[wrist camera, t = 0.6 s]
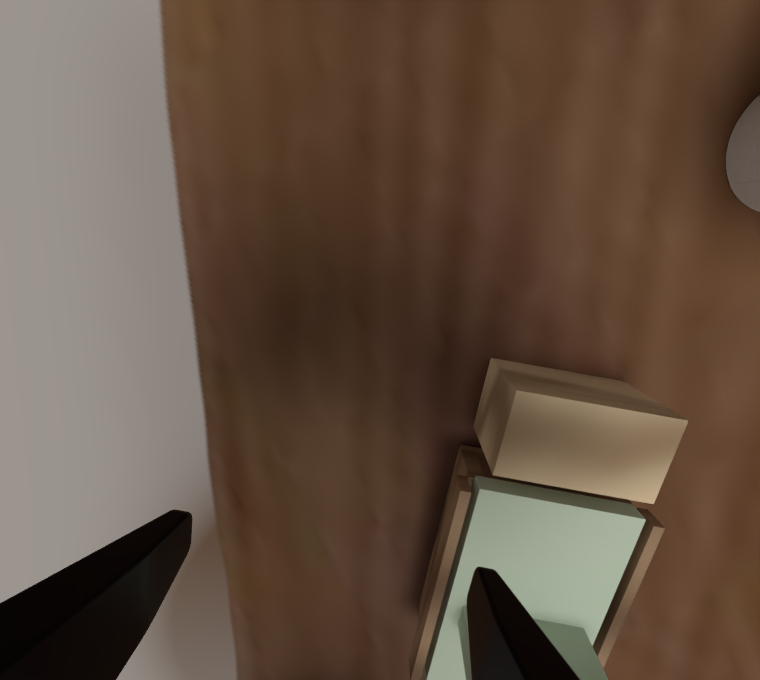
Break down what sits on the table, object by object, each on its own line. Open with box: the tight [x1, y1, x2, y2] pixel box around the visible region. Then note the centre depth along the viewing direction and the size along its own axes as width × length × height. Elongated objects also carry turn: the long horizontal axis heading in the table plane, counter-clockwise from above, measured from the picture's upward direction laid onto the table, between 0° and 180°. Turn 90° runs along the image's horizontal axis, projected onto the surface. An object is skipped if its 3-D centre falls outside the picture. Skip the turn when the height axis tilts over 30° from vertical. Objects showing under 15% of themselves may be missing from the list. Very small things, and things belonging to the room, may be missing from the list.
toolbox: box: [409, 444, 665, 680], centre depth 20 cm, size 12×9×4 cm
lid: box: [424, 476, 646, 680], centre depth 17 cm, size 12×8×4 cm, turn 170°
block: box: [473, 358, 688, 504], centre depth 18 cm, size 4×7×5 cm, turn 81°
